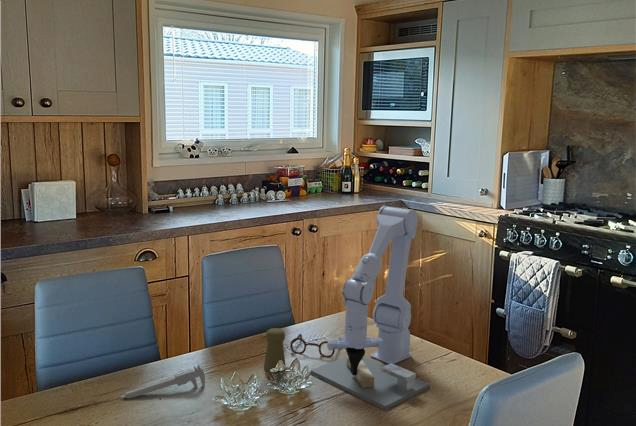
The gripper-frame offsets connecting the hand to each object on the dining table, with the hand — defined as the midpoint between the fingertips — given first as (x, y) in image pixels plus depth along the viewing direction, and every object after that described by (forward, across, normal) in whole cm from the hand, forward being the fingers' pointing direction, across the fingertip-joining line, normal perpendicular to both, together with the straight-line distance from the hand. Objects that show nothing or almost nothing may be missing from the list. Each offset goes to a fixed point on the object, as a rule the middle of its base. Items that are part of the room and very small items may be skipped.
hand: (353, 373), depth 160 cm
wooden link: (+1, +2, +1) cm, 3 cm away
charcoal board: (+2, +4, 0) cm, 5 cm away
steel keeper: (+1, +10, -6) cm, 12 cm away
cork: (+2, -19, +11) cm, 22 cm away
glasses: (+3, -5, +24) cm, 24 cm away
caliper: (+3, -49, +1) cm, 49 cm away
